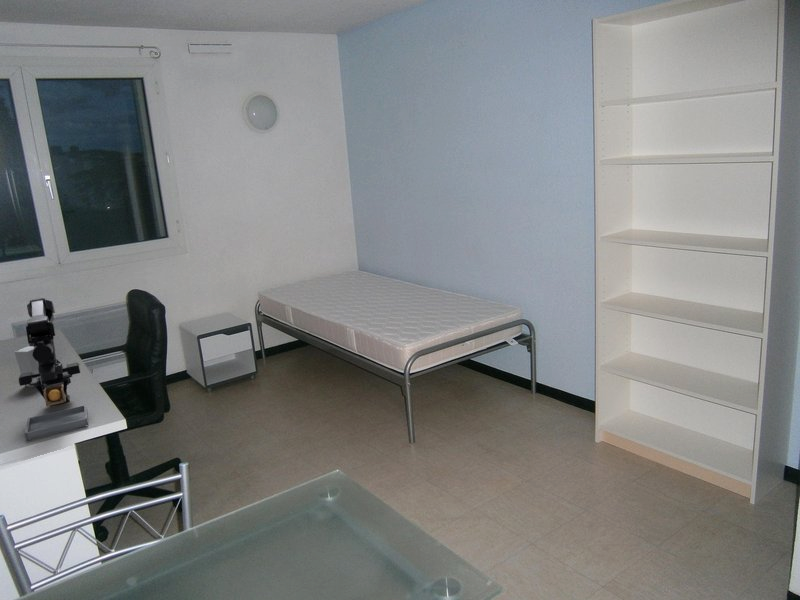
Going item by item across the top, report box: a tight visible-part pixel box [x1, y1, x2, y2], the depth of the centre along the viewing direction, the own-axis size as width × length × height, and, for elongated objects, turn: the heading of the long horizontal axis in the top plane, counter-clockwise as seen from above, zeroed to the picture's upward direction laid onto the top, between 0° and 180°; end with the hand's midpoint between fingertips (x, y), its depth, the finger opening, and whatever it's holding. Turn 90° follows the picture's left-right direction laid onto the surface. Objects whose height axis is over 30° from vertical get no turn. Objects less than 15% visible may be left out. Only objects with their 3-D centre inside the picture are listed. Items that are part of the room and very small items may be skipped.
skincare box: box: [13, 345, 42, 388], centre depth 251 cm, size 8×7×16 cm
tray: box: [24, 404, 89, 441], centre depth 208 cm, size 15×18×2 cm
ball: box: [48, 390, 61, 401], centre depth 216 cm, size 4×4×4 cm
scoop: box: [43, 384, 66, 407], centre depth 217 cm, size 7×6×4 cm
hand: (55, 396), depth 218 cm, fingers closed on scoop, 6 cm apart
